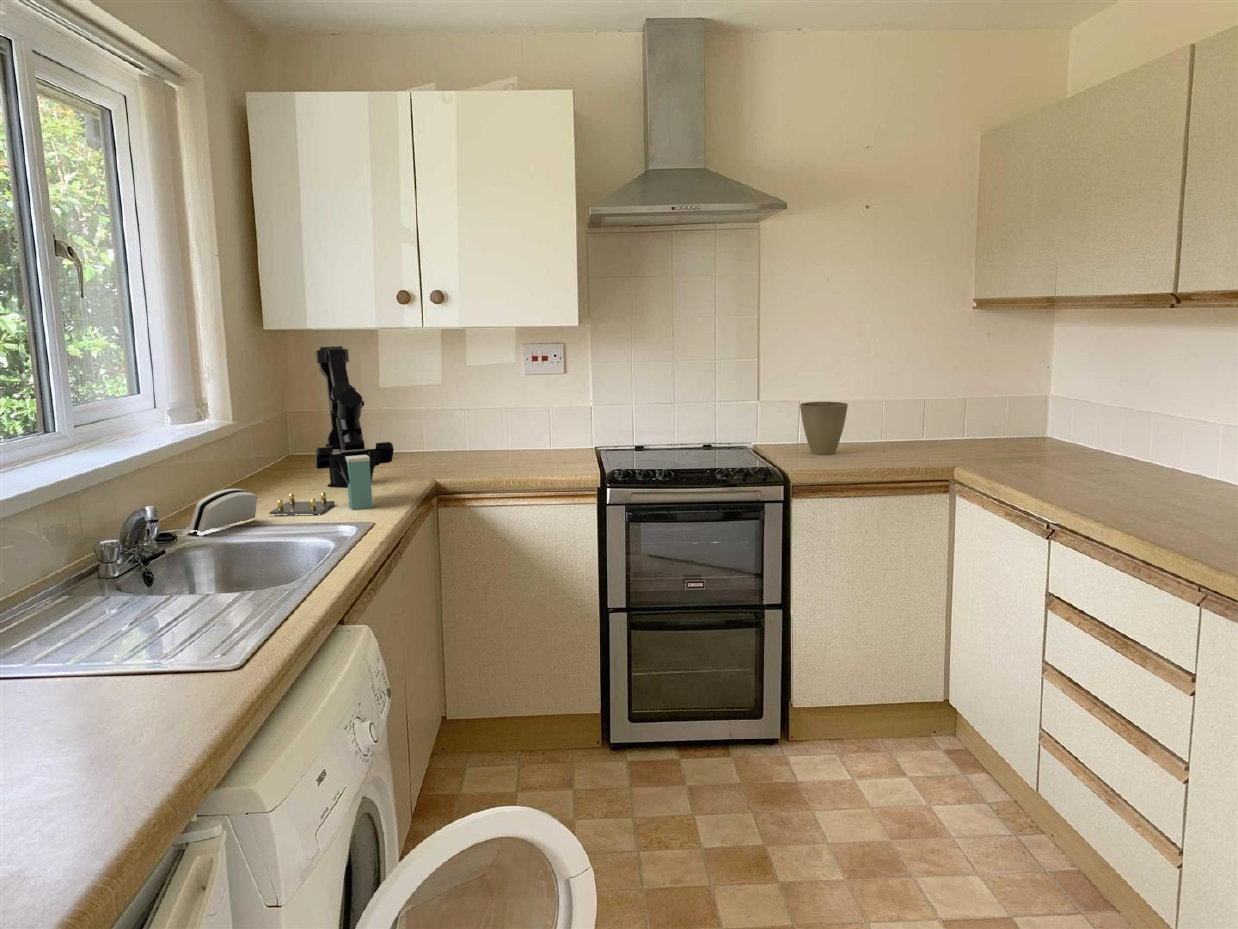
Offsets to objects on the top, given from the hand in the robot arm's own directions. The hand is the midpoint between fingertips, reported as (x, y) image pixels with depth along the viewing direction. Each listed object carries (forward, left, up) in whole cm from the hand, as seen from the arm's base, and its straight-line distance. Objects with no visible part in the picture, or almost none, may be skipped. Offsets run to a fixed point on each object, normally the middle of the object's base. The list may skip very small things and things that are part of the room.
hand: (359, 481), depth 227 cm
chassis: (-13, -5, -7) cm, 16 cm away
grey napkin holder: (-20, -25, -7) cm, 33 cm away
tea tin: (-1, +1, -7) cm, 7 cm away
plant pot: (+106, +102, -7) cm, 147 cm away
